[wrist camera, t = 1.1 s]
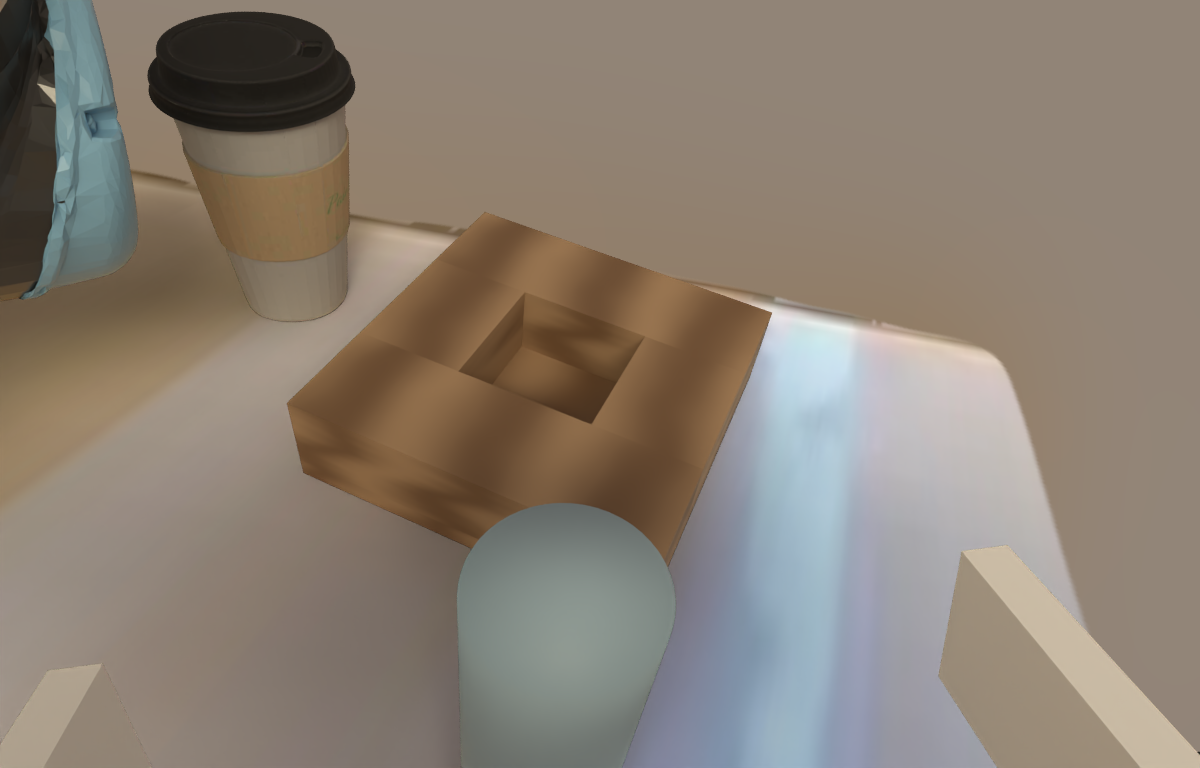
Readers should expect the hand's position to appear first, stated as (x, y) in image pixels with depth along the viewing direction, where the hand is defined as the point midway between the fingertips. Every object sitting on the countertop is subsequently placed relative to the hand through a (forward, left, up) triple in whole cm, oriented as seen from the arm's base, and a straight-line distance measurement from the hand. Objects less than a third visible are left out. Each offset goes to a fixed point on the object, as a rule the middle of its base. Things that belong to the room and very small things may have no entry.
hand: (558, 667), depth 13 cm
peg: (-1, +4, -20) cm, 21 cm away
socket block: (-9, +22, -20) cm, 31 cm away
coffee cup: (-27, +24, -20) cm, 41 cm away
